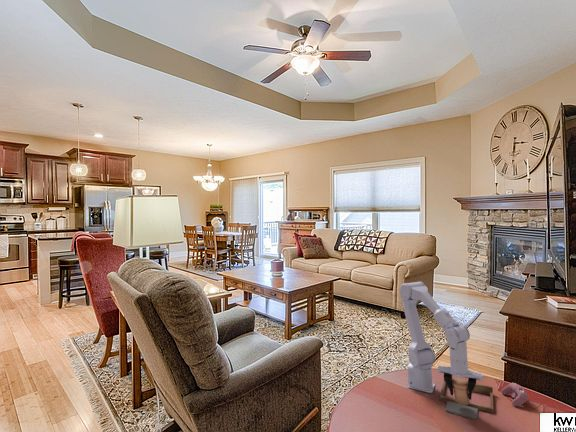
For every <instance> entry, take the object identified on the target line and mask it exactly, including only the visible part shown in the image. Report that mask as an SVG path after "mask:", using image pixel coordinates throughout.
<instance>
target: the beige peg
mask: <svg viewBox="0 0 576 432" xmlns="http://www.w3.org/2000/svg"><path fill="white" fill-rule="evenodd" d="M453 379H454V380H452V385H453V396H454V399H455V401H456V402H457V403H458V404H460V405H468V404H469V403H471V402H470V401H471V400H469V390H468V388H469V387H468V380H466V379H463V378H453Z"/></svg>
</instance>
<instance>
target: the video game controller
mask: <svg viewBox="0 0 576 432" xmlns="http://www.w3.org/2000/svg"><path fill="white" fill-rule="evenodd" d="M500 391H501V394H502V395H505V396H507V395H511V398H513V400H512V401H511V405H512V406H513V407H521V406H522V405H524V403H527V401H528V400H529V394H528V393H527V392H526V390H525V388H524V387H522V386H521V384H518V383H515V382H510V383H508V385H506V386H505V387H503V388H502V389H501V390H500Z"/></svg>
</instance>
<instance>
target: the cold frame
mask: <svg viewBox="0 0 576 432" xmlns="http://www.w3.org/2000/svg"><path fill="white" fill-rule="evenodd" d="M454 379H455V378H452V380H454ZM447 386H448V385H447V383H446V381H445V379H444V378H443V384H442V387H441V390H440V394H439V401H443V402H446V403H447V401H451V402H455V403H457V402H456V401H455V398H452V397H450V396H449V397H448V396H445V395H444V394H445V391H446V388H447ZM468 391H469V388H468ZM473 392H475V393H480V394H485V395H488V396H489V397H490V404H489V405H490V406H487V405H481V404H479V403H475V402H470V403H469V404H468V405H467V406H471V407H475V408H478V411H482V412H486V413H490V414H494V387H493V386H490V385H485V384H480V383H476V385H475V387H474V389H473Z"/></svg>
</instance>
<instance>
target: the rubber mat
mask: <svg viewBox="0 0 576 432" xmlns="http://www.w3.org/2000/svg"><path fill="white" fill-rule="evenodd" d="M444 411H445V413H450V414H453V415H456V416H461V417H465V418H468V419H472V420H476V421H477V420H478V412H479V410H478V408H475V407H471V406H467V405H460V404H458V403H455V402H451V401H447V402H446V406H445V410H444Z"/></svg>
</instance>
